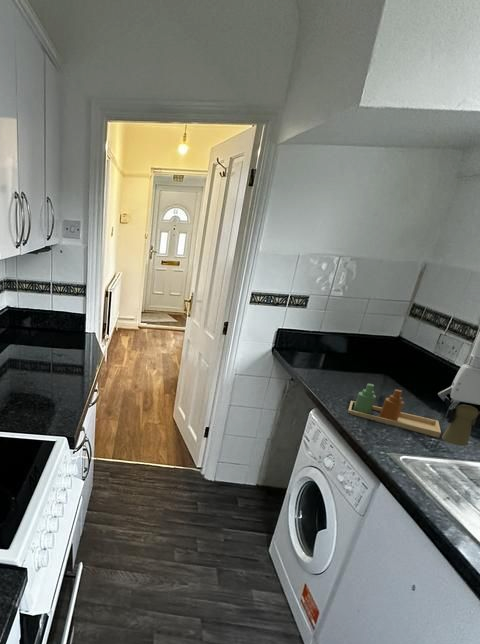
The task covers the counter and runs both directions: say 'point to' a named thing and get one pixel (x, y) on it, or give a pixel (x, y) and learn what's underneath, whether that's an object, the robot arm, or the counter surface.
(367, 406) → the green bottle
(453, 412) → the robot arm
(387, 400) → the amber bottle
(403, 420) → the tray
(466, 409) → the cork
